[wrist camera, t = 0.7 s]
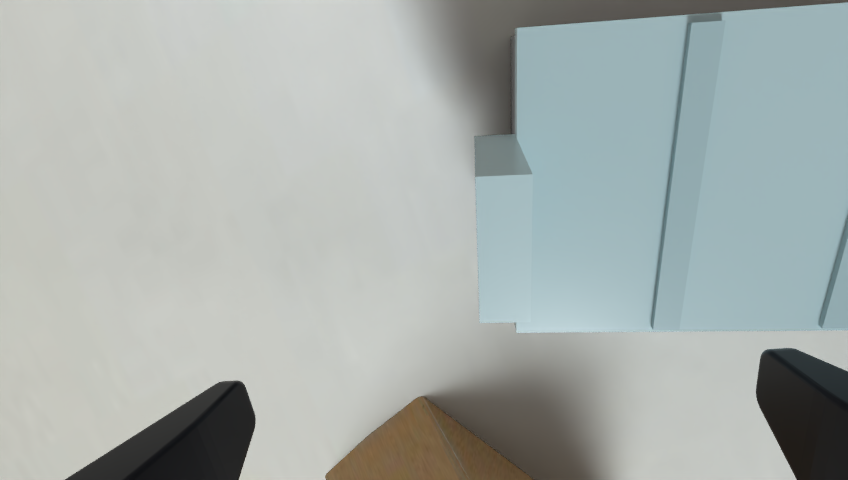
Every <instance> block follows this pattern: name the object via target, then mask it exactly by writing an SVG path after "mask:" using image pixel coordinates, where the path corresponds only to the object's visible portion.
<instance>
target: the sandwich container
mask: <svg viewBox="0 0 848 480" xmlns="http://www.w3.org/2000/svg"><path fill="white" fill-rule="evenodd" d="M325 478H326V480H534V479H532V478H531V477H530V476H528V475H527V474H526V473H524V472H523V471H522V470H520V469H519V468H518V467H516V466H515V465H514V464H512V463H511V462H510V461H508V460H507V459H506V458H504V457H503V456H502V455H500V454H499V453H498V452H496V451H495V450H494V449H492V448H491V447H490V446H488V445H487V444H486V443H484V442H483V441H482V440H480V439H479V438H478V437H476V436H475V435H474V434H472V433H471V432H470V431H468V430H467V429H466V428H464V427H463V426H462V425H460V424H459V423H458V422H456V421H455V420H454V419H452V418H451V417H450V416H448V415H447V414H446V413H444V412H443V411H442V410H440V409H439V408H438V407H436V406H435V405H434V404H432V403H431V402H430V401H428V400H427V399H426V398H424V397H422V396H421V397H418V398H416V399H415V400H414V401H412V402H411V403H410V404H408V405H407V406H406V407H405V408H403V409H402V410H401V411H399V412H398V413H397V414H396V415H394V416H393V417H392V418H390V419H389V420H388V421H386V422H385V423H384V424H383V425H381V426H380V427H379V428H377V429H376V430H375V431H374V432H372V433H371V434H370V435H368V436H367V437H366V438H365V439H364V440H363V441H362V442H361V443H360V444H359V445H357V446H356V447H355V448H354V449H353V450H352V451H351V452H350V453H349V454H348V455H347V456H345V457H344V458H343V459H342V460H341V461H340V462H339V463H338V464H337V465H336V466H335V467H334V468H332V469H331V470H330V471H329V472H328V473H327V474H326V476H325Z"/></svg>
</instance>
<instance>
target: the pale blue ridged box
mask: <svg viewBox="0 0 848 480" xmlns="http://www.w3.org/2000/svg"><path fill="white" fill-rule="evenodd" d="M474 139H475V186H476V218H477V251H478V284H479V317H480V323H513V322H515V327H516V333H545V332H674V331H803V330H848V2H846V3H833V4H820V5H807V6H794V7H781V8H768V9H755V10H742V11H729V12H716V13H703V14H690V15H677V16H664V17H651V18H638V19H625V20H612V21H599V22H586V23H573V24H560V25H547V26H534V27H521V28H515V134H507V135H488V136H474Z"/></svg>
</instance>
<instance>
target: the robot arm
mask: <svg viewBox="0 0 848 480" xmlns="http://www.w3.org/2000/svg"><path fill="white" fill-rule="evenodd" d="M756 397H757V401H758V404H759V406H760V409H761V411H762V412H763V414H764V416H765V418H766V420H767V422H768V424H769V426H770V428H771V430H772V432H773V434H774V436H775V438H776V440H777V442H778V444H779V446H780V448H781V450H782V452H783V454H784V456H785V458H786V460H787V461H788V463H789V465H790V467H791V469H792V471H793V473H794V475H795V477H796V479H797V480H848V372H847V371H845V370H843V369H841V368H838V367H836V366H834V365H831V364H829V363H827V362H824V361H822V360H820V359H817V358H815V357H813V356H810V355H808V354H806V353H803V352H801V351H799V350H796V349H792V348H783V349H768V350H766V351H764V352H763V353H762V355H761V358H760V364H759V372H758V379H757V386H756ZM254 428H255V414H254V410H253V408H252V405H251V402H250V399H249V396H248V393H247V390H246V387H245V385H244V384H243V383H242V382H241V381H223V382H219V383H217V384H215V385H214V386H212V387H210V388H209V389H207V390H206V391H204V392H203V393H201V394H199V395H198V396H196V397H195V398H193V399H192V400H190V401H188V402H187V403H185V404H184V405H182V406H180V407H179V408H177V409H176V410H174V411H173V412H171V413H169V414H168V415H166V416H165V417H163V418H162V419H160V420H158V421H157V422H155V423H154V424H152V425H150V426H149V427H147V428H146V429H144V430H143V431H141V432H139V433H138V434H136V435H135V436H133V437H132V438H130V439H128V440H127V441H125V442H124V443H122V444H120V445H119V446H117V447H116V448H114V449H113V450H111V451H109V452H108V453H106V454H105V455H103V456H102V457H100V458H98V459H97V460H95V461H94V462H92V463H90V464H89V465H87V466H86V467H84V468H83V469H81V470H79V471H78V472H76V473H75V474H73V475H72V476H70V477H68V478H67V479H65V480H239V477H240V473H241V470H242V467H243V464H244V461H245V457H246V454H247V451H248V448H249V445H250V441H251V438H252V435H253V432H254Z"/></svg>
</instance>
